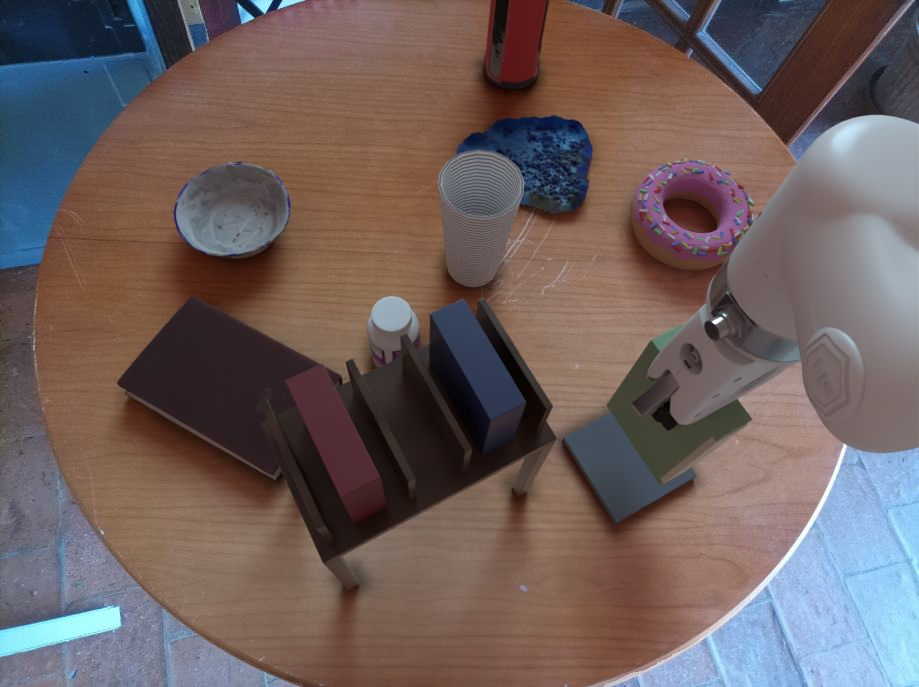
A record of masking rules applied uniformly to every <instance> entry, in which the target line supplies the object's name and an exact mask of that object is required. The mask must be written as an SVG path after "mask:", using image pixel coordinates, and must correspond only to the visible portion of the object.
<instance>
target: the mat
mask: <svg viewBox="0 0 919 687" xmlns="http://www.w3.org/2000/svg"><path fill="white" fill-rule="evenodd" d="M561 441H562V443H563V445H564V446H565V447H566V449H567V451H568V452H569V454H570V455H571V457H572V458H573V460H574V461H575V463H576V465H577V466H578V468H579V470H580V471H581V473H582V474H583V476H584V478H585V479H586V481H587V483H588V484H589V486H590V488H591V489H592V491H593V492H594V494H595V495H596V497H597V499H598V500H599V502H600V503H601V505H602V507H603V508H604V510H605V511H606V513H607V514H608V516H609V519H610V520H611V521H612V522H613V523H614V525H616V524H619V523H621V522H622V521H624V520H625V519H627V518H629V517H630V516H632V515H634V514H636V513H637V512H639V511H641V510H643V509H644V508H646V507H647V506H649V505H651V504H653V503H654V502H657V501H658V500H660V499H662V498H663V497H665V496H667V495H668V494H670V493H671V492H673V491H675V490H677V489H679V488H680V487H682V486H684V485H686V484H687V483H689V482H690V481H693V480H694V479H696V477H697V476H698V475H697V474H696V472H695V471H694V469H693V467H691V468H690V469H689V470H687V471H685V472H683V473H682V474H680V475H678V476H677V477H675V478H673V479H671V480H670V481H668V482H666V483H665V484H662V485H659V484H658V482H657V481H656V479H655V478H654V476H653V475H652V473H651V472H650V470H649V469H648V467H647V466H646V464H645V463H644V461H643V460H642V458H641V457H640V455H639V454H638V452H637V450H636V449H635V447H634V446H633V444H632V443H631V441H630V440H629V438H628V437H627V435H626V434H625V432H624V431H623V429H622V428H621V426H620V425H619V423H618V422H617V420H616V419H615V417H614V416H613V414H612V413H611V411H609V412H608V413H606V414H604V415H602V416H600V417H599V418H597V419H595V420H593V421H591V422H589V423H587V424H586V425H584V426H582V427H580V428H578V429H576V430H574V431H572V432H571V433H569V434H567V435H565V436H563V437H562V439H561Z"/></svg>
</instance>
